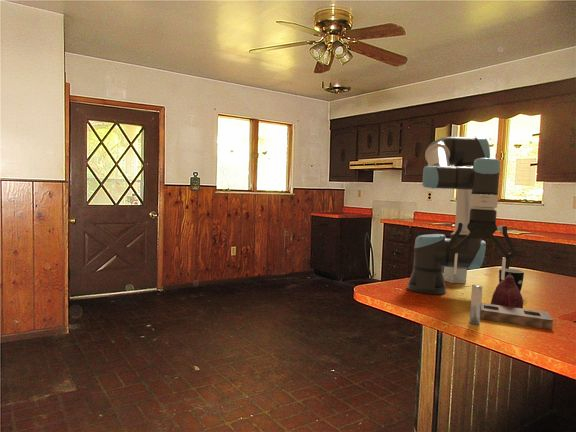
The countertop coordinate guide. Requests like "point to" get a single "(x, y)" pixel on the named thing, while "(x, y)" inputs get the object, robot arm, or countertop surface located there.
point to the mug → (516, 274)
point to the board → (516, 316)
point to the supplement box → (455, 275)
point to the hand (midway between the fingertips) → (478, 276)
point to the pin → (476, 304)
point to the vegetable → (507, 293)
